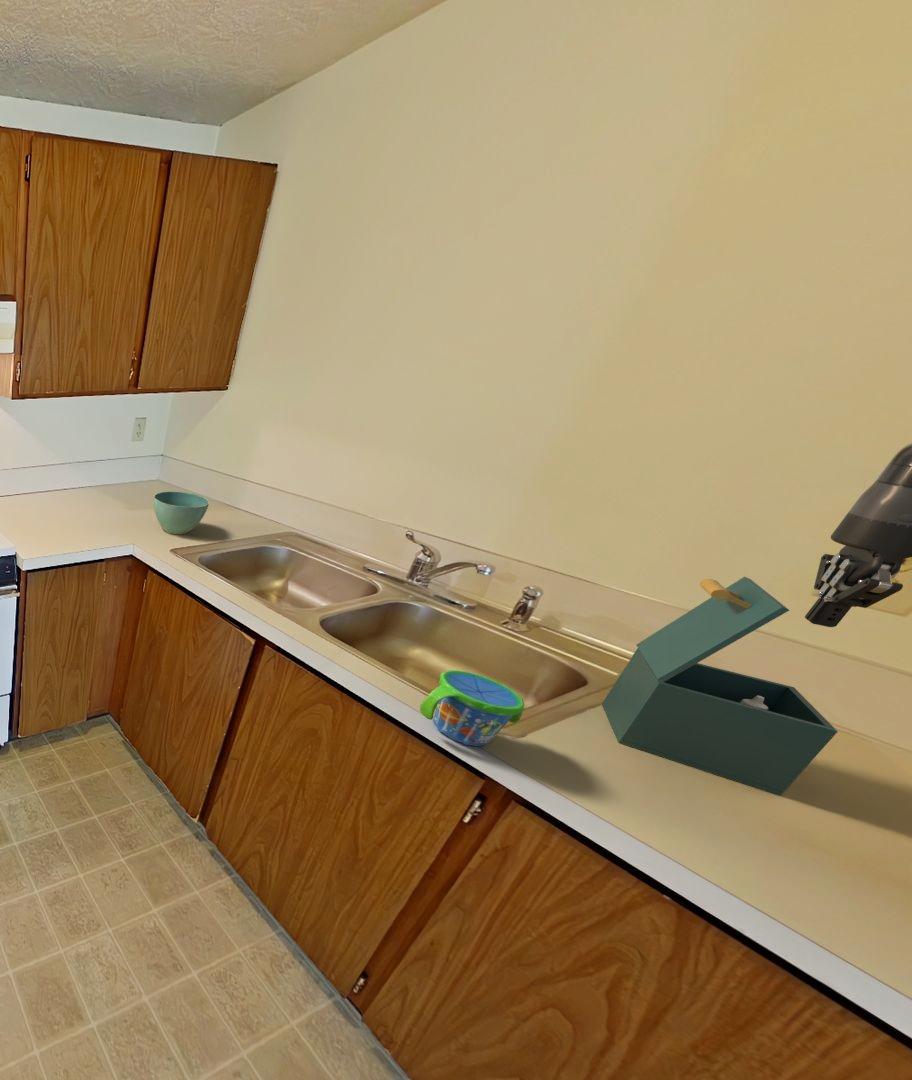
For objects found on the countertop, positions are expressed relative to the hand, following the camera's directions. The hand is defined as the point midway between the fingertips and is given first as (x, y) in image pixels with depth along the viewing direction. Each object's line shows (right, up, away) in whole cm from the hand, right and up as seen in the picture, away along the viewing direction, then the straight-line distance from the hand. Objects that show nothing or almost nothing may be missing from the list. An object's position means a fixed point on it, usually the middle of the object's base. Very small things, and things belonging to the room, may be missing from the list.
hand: (818, 623), depth 77 cm
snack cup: (-40, -23, +15) cm, 49 cm away
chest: (-3, -24, +13) cm, 27 cm away
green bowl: (-51, +16, +108) cm, 120 cm away
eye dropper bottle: (0, -24, +10) cm, 26 cm away
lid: (-6, -3, +7) cm, 10 cm away
